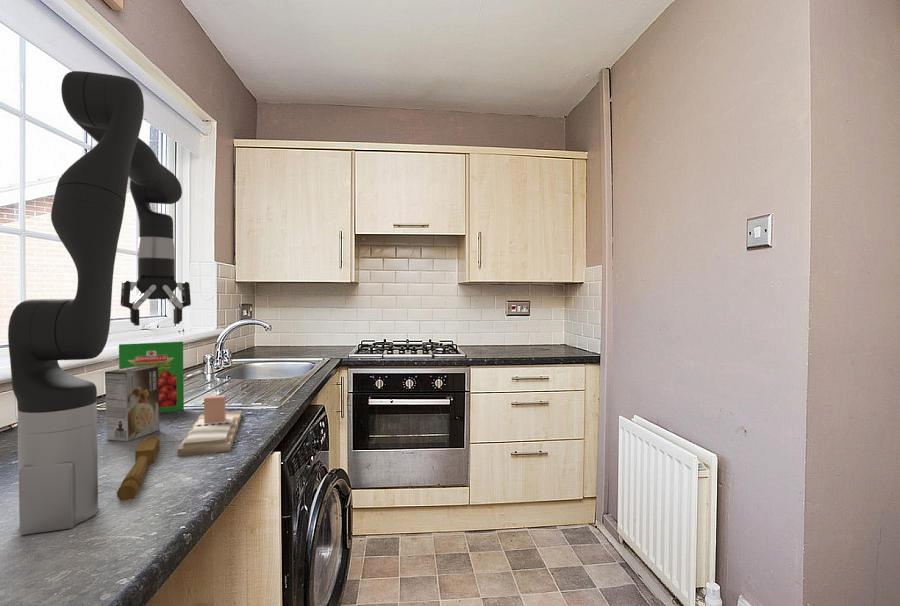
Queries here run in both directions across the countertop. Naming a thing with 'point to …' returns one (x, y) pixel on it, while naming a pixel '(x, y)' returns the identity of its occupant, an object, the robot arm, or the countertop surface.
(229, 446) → the board
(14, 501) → the countertop surface
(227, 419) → the stub
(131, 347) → the tomato puree packet
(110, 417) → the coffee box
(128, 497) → the tap handle
